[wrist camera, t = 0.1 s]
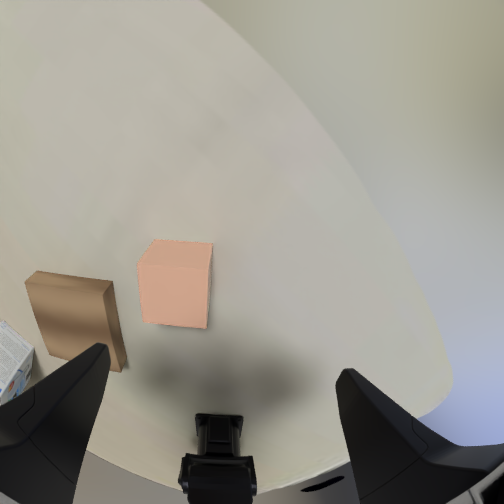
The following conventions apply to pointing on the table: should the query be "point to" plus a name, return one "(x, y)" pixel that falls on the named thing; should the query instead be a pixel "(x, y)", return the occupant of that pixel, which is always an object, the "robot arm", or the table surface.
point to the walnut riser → (76, 315)
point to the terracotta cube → (175, 283)
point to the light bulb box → (13, 363)
